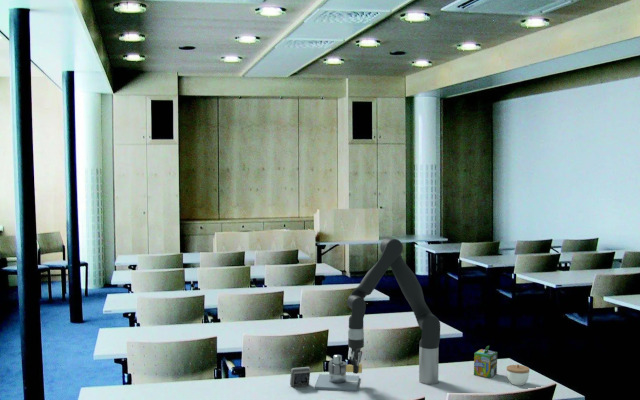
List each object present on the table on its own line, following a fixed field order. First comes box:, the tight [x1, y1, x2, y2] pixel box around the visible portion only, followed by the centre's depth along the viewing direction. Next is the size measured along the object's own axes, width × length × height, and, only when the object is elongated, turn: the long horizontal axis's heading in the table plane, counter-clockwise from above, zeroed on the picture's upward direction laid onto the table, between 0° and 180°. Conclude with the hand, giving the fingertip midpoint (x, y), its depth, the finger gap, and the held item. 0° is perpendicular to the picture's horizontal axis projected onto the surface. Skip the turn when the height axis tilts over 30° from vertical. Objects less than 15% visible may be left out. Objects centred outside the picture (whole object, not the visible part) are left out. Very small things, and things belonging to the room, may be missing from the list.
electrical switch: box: [289, 366, 311, 388], centre depth 343 cm, size 9×5×9 cm, turn 107°
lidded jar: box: [506, 364, 530, 387], centre depth 348 cm, size 11×11×9 cm
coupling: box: [328, 361, 363, 374], centre depth 346 cm, size 16×8×4 cm, turn 83°
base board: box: [314, 358, 360, 392], centre depth 347 cm, size 20×20×10 cm
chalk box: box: [473, 345, 498, 379], centre depth 362 cm, size 9×9×15 cm
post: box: [328, 354, 347, 384], centre depth 347 cm, size 8×8×12 cm
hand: (355, 373), depth 342 cm, fingers closed
